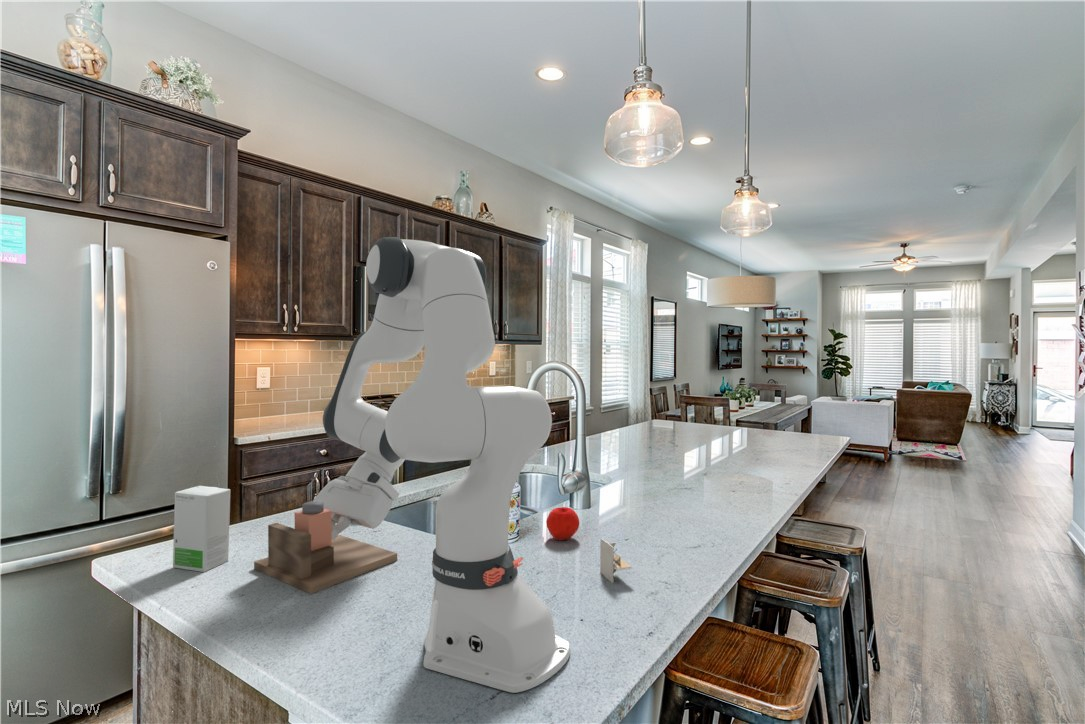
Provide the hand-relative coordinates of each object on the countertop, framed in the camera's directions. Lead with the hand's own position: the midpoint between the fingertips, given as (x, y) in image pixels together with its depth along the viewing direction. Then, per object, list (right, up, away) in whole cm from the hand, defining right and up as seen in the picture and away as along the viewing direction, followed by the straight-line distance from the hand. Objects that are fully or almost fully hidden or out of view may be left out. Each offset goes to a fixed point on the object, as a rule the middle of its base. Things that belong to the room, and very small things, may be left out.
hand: (327, 537), depth 115 cm
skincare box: (-26, -6, 0) cm, 27 cm away
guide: (0, -6, 0) cm, 6 cm away
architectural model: (+58, -7, -5) cm, 59 cm away
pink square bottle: (-2, -4, -2) cm, 5 cm away
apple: (+49, -6, +17) cm, 52 cm away
